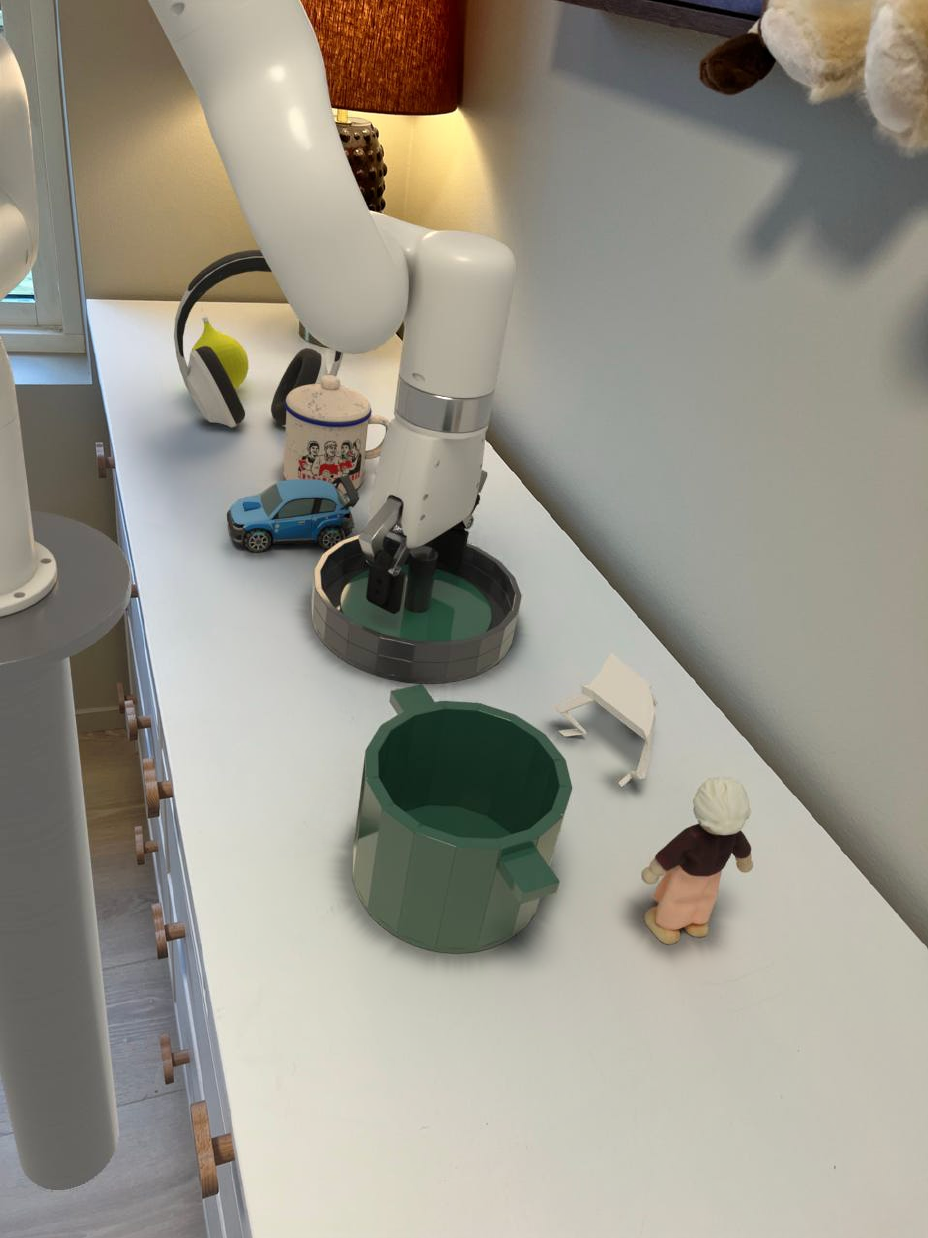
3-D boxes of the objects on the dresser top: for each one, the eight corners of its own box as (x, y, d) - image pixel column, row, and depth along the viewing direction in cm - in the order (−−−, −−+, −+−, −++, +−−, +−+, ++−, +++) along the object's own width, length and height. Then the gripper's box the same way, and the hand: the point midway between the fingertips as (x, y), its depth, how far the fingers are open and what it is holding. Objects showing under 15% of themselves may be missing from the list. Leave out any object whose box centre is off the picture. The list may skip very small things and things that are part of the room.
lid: (375, 674, 80) (383, 608, 76) (317, 585, 89) (321, 522, 85) (517, 646, 86) (530, 584, 82) (448, 565, 95) (458, 506, 91)
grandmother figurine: (696, 885, 67) (754, 749, 60) (733, 928, 64) (798, 791, 57) (606, 919, 63) (657, 779, 56) (641, 967, 61) (699, 826, 53)
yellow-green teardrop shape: (186, 379, 124) (185, 300, 118) (242, 379, 126) (244, 302, 121) (193, 402, 118) (192, 321, 113) (252, 401, 121) (254, 322, 115)
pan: (358, 702, 77) (362, 662, 75) (283, 579, 90) (285, 542, 88) (550, 661, 86) (559, 625, 83) (457, 554, 98) (462, 520, 96)
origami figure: (529, 705, 80) (540, 658, 77) (615, 690, 84) (628, 644, 81) (602, 809, 72) (618, 760, 69) (694, 787, 75) (713, 740, 72)
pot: (419, 1019, 55) (441, 912, 50) (310, 801, 68) (319, 696, 63) (599, 951, 61) (637, 848, 56) (468, 761, 74) (489, 662, 68)
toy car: (224, 524, 96) (224, 472, 93) (343, 519, 100) (347, 470, 97) (232, 555, 92) (233, 502, 89) (356, 549, 96) (361, 499, 93)
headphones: (180, 439, 110) (176, 258, 98) (171, 408, 116) (167, 234, 105) (345, 437, 117) (360, 267, 105) (329, 408, 123) (341, 245, 112)
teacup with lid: (291, 500, 102) (296, 395, 96) (273, 460, 109) (277, 360, 102) (399, 495, 107) (412, 395, 100) (376, 457, 113) (386, 361, 107)
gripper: (462, 362, 84) (435, 533, 93) (336, 413, 71) (319, 606, 80) (537, 391, 81) (501, 564, 91) (420, 450, 68) (392, 644, 78)
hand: (415, 584), depth 86 cm, fingers open, 9 cm apart
